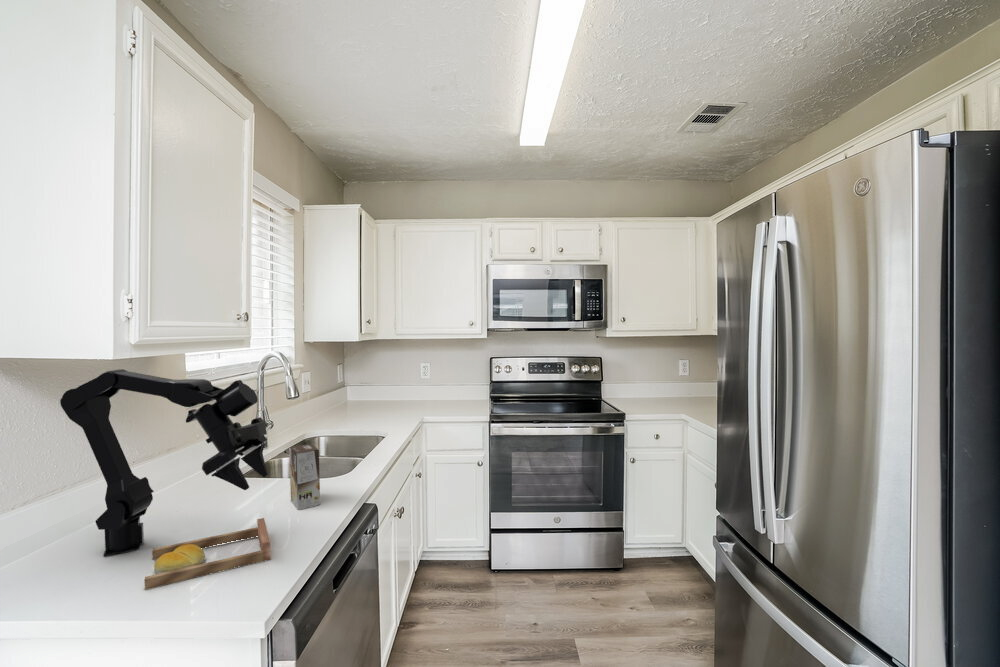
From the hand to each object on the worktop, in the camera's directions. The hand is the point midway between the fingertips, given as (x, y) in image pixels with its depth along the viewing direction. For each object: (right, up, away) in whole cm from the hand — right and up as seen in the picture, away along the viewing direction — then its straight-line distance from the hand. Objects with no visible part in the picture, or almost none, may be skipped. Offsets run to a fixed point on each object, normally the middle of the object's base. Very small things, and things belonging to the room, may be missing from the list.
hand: (257, 482), depth 113 cm
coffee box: (+1, -14, +26) cm, 30 cm away
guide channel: (-7, -15, -6) cm, 18 cm away
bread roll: (-12, -16, -9) cm, 22 cm away
